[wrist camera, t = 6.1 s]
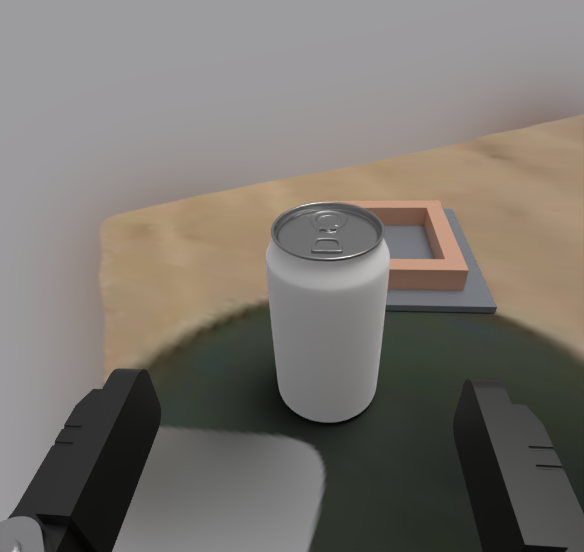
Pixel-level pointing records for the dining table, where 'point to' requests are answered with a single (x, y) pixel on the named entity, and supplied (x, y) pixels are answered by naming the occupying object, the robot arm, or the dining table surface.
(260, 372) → the dining table surface
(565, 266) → the dining table surface
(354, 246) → the can
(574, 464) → the dining table surface
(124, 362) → the dining table surface
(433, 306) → the tray
